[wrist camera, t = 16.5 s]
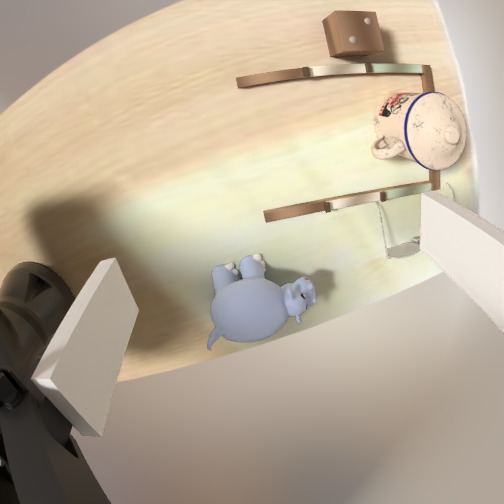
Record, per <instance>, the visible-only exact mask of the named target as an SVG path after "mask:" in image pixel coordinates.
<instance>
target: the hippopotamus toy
mask: <svg viewBox="0 0 504 504" xmlns="http://www.w3.org/2000/svg"><path fill="white" fill-rule="evenodd" d="M261 259H262V256H261V254H255V255H253V256H246V257H245V258H243V259H242V261H241V263H240V270H241V274H242V278H243V279H242V280H239V277H237V276H238V274H239V273H238V271H237V270H236V269H234V266H235V265H234V264H233V263H229V264H226V265H219V266H217V267H215V268H214V270H213V272H212V278H213V283H214V289H215V295H216V296H215V298H214V299H213V302H212V304H211V310H210V312H211V318H212V321H213V323H214V325H215V327H216V328H215V329H214V330H213V331H212V332H211V334H210V336H209V339H208V345H207V348H208V349H209V350H211V345H212V344H213V343H214V342H215V341H216V340H217V339H218V338H219V337H220V336H221V335H222V336H223V337H224V338H225V339H227V340H230V341H235V342H254V341H259V340H262V339H265V338H267V337H269V336H271V335H273V334H274V333H276V332H277V331H278V330H279V329H280V328H281V327H282V326H283V325H284V324H285V322H286V320H287V318H288V316H295V317H296V322H297V323H298V324H300V323H301V318H300V314H301V313H303V312H304V311H306V309H307V308H308V307H309V306H311V305H312V304H313V303H316V302H317V300H316V291H315V287H314V284H313V282H312V281H311V280H310V279H309V278H308V277H300V278H298V279H297V280H296V281H295V282H294V283H288V284H285V285H283V286H281V287H279V286H278V285H277V284H275V283H274V282H272V281H269V280H267V279H265V276H264V273H265V272H266V269H265V268H264V267H265V262H264V261H263V260H261Z"/></svg>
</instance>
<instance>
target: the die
mask: <svg viewBox="0 0 504 504" xmlns="http://www.w3.org/2000/svg"><path fill="white" fill-rule="evenodd" d="M322 22H323V26H324V30H325V35H326V39H327V43H328V48H329V53H330V57H335V56H367V55H370V54H374V53H378V52H381V51H384V47H383V42H382V37H381V33H380V29H379V24H378V20H377V16H376V12H366V11H334V12H333V13H332V14H330V15H329V16H328V17H327V18H325V19H324V20H323V21H322Z"/></svg>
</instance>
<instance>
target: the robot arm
mask: <svg viewBox="0 0 504 504" xmlns="http://www.w3.org/2000/svg"><path fill="white" fill-rule="evenodd" d="M420 250H421V251H422V252H423V253H424V254H425V255H426V256H427V257H429V258H430V259H431V260H432V261H433V262H434V263H435V264H436V265H437V266H438V267H439V268H440V269H441V270H443V271H444V272H445V273H446V274H447V275H448V276H449V277H450V278H451V279H452V280H453V281H454V282H455V283H456V284H457V285H458V286H459V287H460V288H461V289H462V290H463V291H464V292H465V293H466V294H467V295H468V296H469V297H470V298H471V299H472V300H473V301H474V302H475V303H476V304H477V305H478V306H479V307H480V308H481V309H482V310H483V311H484V312H485V314H486V315H487V316H488V317H489V318H490V319H491V320H492V321H493V322H494V323H495V324H496V325H497V327H498V328H499V329H500V330H501V331H502V332H503V333H504V231H502V230H501V229H499V228H497V227H496V226H494V225H493V224H491V223H490V222H488V221H486V220H485V219H483V218H482V217H480V216H478V215H477V214H475V213H473V212H472V211H470V210H468V209H467V208H465V207H463V206H461V205H460V204H458V203H456V202H454V201H453V200H451V199H449V198H447V197H445V196H444V195H442V194H440V193H438V192H436V191H430V192H424V193H421V232H420ZM138 313H139V309H138V307H137V305H136V302H135V300H134V298H133V296H132V294H131V291H130V289H129V287H128V285H127V282H126V280H125V278H124V276H123V273H122V271H121V269H120V266H119V264H118V261H117V259H116V257H115V258H111V259H106V260H102V261H100V263H99V264H98V266H97V267H96V268H95V270H94V271H93V273H92V274H91V276H90V277H89V279H88V281H87V282H86V284H85V285H84V287H83V288H82V290H81V291H80V293H79V294H78V296H77V298H76V299H74V297H73V295H72V293H71V291H70V289H69V288H68V287H67V285H66V284H65V283H64V282H63V280H62V279H61V278H60V277H59V276H57V275H56V274H55V273H54V272H53V271H51V270H50V269H48V268H46V267H44V266H42V265H40V264H37V263H33V262H23V263H20V264H18V265H16V266H15V267H14V268H13V269H12V270H11V271H10V272H9V273H8V274H7V275H6V277H5V278H4V281H3V283H2V286H1V288H0V460H1V466H0V504H111V502H110V501H109V499H108V498H107V496H106V495H105V493H104V491H103V490H102V488H101V486H100V485H99V483H98V481H97V480H96V478H95V476H94V475H93V473H92V471H91V469H90V467H89V465H88V464H87V462H86V460H85V458H84V456H83V454H82V452H81V450H80V448H79V446H78V444H77V442H76V440H75V439H74V438H73V436H72V435H71V434H70V432H71V429H72V426H73V427H74V428H75V429H77V431H79V432H80V434H81V435H82V436H93V437H102V434H103V430H104V426H105V422H106V418H107V414H108V410H109V406H110V403H111V399H112V396H113V392H114V389H115V385H116V382H117V378H118V375H119V371H120V368H121V365H122V361H123V358H124V355H125V352H126V349H127V346H128V342H129V339H130V336H131V333H132V330H133V327H134V324H135V321H136V318H137V315H138Z"/></svg>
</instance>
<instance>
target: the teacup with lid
mask: <svg viewBox="0 0 504 504" xmlns="http://www.w3.org/2000/svg"><path fill="white" fill-rule="evenodd" d="M374 129H375V133H376V135H377V138H378V140H377V141H375V142H374V143H373V145H372V147H371V151H372V154H373V155H374V157H375V158H377V159H381V160H384V159H389V158H392V157H394V156H397V155H399V156H402V157H404V158H407V159H409V160H412V161H415V162H417V163H418V164H420V165H421V166H423V167H424V168H426V169H429V170H443V169H446V168H448V167H450V166H451V165H453V164H454V163H455V162H456V161H457V160H458V159H459V157H460V156H461V154H462V152H463V150H464V147H465V143H466V124H465V120H464V117H463V115H462V112H461V111H460V109H459V107H458V106H457V105H456V103H455V102H454V101H453V100H451V99H450V98H449V97H447V96H446V95H444V94H442V93H438V92H426V93H393V94H390V95H388V96H386V97H385V98H384V99H383V100H382V101H381V102H380V103H379V105H378V106H377V109H376V111H375V115H374ZM382 148H384V149H382Z"/></svg>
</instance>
